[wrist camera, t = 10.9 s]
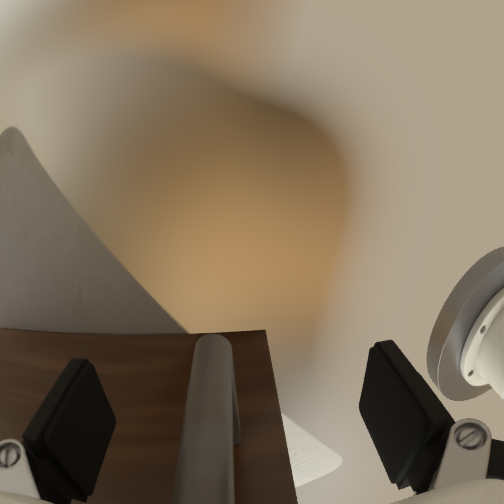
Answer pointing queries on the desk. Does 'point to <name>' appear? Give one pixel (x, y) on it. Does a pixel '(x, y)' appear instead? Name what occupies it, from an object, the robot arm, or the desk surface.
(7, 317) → the desk surface
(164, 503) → the door
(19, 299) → the desk surface
